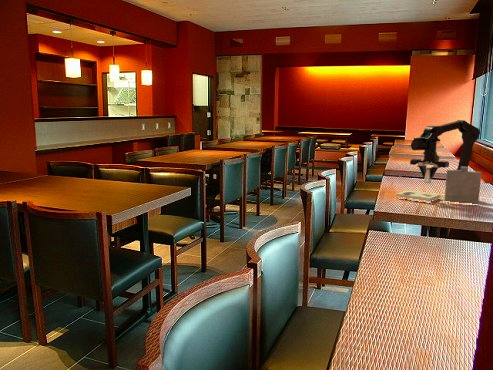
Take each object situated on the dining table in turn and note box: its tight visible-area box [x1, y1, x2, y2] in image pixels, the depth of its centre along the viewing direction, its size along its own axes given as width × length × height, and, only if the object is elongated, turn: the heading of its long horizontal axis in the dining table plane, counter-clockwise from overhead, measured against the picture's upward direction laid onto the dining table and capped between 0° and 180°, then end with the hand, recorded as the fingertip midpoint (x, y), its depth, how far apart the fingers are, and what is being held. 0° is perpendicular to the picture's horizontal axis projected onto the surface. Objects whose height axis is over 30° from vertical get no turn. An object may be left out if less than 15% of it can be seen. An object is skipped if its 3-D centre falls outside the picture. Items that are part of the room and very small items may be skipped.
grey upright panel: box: [443, 166, 482, 205], centre depth 219 cm, size 16×4×20 cm, turn 66°
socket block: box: [396, 189, 441, 201], centre depth 232 cm, size 18×14×3 cm
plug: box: [423, 166, 432, 184], centre depth 227 cm, size 3×3×8 cm
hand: (427, 178), depth 227 cm, fingers closed on plug, 3 cm apart
